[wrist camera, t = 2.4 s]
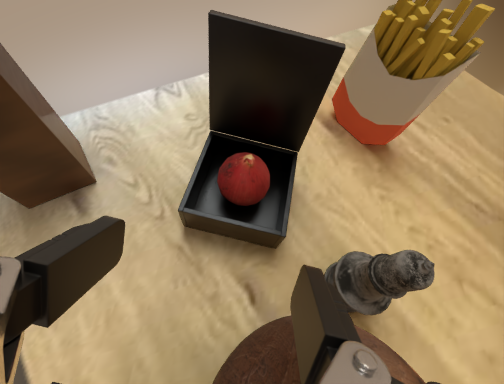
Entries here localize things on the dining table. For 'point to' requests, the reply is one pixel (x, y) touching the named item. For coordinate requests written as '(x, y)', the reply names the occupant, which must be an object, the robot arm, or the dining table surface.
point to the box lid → (266, 79)
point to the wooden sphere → (293, 357)
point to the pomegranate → (243, 179)
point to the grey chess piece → (378, 278)
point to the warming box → (229, 214)
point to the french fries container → (405, 67)
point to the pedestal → (35, 143)
